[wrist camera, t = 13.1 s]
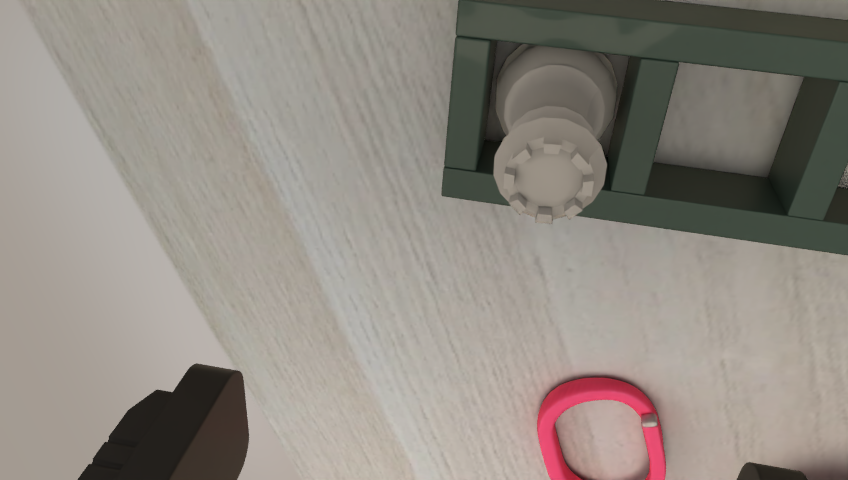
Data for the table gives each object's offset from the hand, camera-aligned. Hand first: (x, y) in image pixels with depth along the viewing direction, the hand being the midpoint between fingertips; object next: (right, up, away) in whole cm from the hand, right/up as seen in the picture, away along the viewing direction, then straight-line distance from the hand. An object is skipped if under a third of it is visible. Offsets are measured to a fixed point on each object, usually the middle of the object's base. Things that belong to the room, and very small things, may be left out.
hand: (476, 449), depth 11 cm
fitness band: (+8, -6, +24) cm, 26 cm away
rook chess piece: (+4, +9, +15) cm, 18 cm away
